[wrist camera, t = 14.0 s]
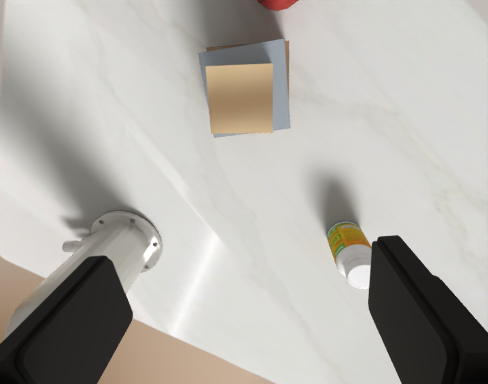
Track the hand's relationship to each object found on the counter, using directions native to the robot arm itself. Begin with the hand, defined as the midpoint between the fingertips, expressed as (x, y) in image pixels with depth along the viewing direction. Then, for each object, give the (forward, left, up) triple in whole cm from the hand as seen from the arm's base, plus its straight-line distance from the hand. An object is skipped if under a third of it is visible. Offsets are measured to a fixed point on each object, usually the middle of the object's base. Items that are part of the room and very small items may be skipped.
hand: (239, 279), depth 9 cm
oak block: (-1, +5, -20) cm, 21 cm away
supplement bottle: (+12, -18, -30) cm, 37 cm away
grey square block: (-1, +5, -25) cm, 26 cm away
